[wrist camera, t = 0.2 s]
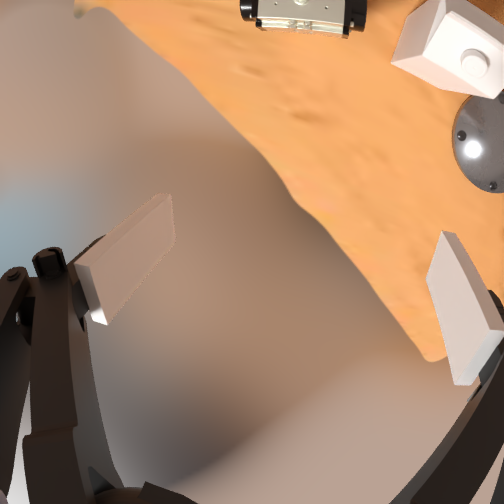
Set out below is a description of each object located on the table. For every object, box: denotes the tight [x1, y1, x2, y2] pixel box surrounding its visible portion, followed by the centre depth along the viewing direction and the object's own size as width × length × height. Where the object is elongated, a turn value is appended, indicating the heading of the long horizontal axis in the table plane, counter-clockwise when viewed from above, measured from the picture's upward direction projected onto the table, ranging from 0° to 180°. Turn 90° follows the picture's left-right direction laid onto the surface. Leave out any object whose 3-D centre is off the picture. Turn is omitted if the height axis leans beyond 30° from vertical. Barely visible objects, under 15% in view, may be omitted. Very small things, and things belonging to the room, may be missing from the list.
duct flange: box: [452, 91, 504, 193], centre depth 31 cm, size 14×14×1 cm
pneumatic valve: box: [240, 0, 367, 39], centre depth 25 cm, size 6×12×12 cm, turn 87°
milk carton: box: [391, 0, 504, 99], centre depth 21 cm, size 7×7×19 cm
